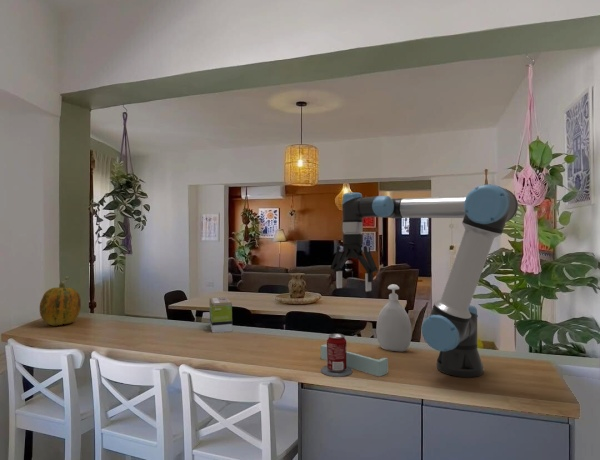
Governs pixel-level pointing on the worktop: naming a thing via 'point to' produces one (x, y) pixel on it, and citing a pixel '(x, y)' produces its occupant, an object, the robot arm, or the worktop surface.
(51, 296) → the pumpkin
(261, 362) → the worktop surface
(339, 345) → the soda can
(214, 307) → the tea box
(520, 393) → the worktop surface
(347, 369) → the coaster
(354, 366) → the divider
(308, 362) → the worktop surface
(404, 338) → the soap bottle
